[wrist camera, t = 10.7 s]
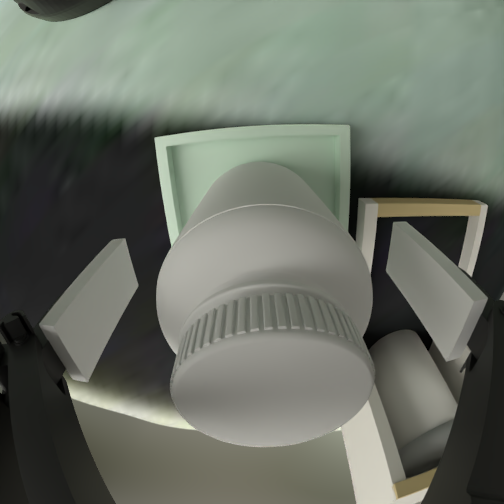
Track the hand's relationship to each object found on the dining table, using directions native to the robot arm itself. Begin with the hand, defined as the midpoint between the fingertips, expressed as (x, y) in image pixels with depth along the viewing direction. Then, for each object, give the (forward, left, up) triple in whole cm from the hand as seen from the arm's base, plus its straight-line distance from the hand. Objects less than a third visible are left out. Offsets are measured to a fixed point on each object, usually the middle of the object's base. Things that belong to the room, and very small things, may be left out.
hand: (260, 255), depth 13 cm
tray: (0, 0, -8) cm, 8 cm away
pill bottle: (0, 0, -7) cm, 7 cm away
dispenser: (+11, +14, -8) cm, 19 cm away
